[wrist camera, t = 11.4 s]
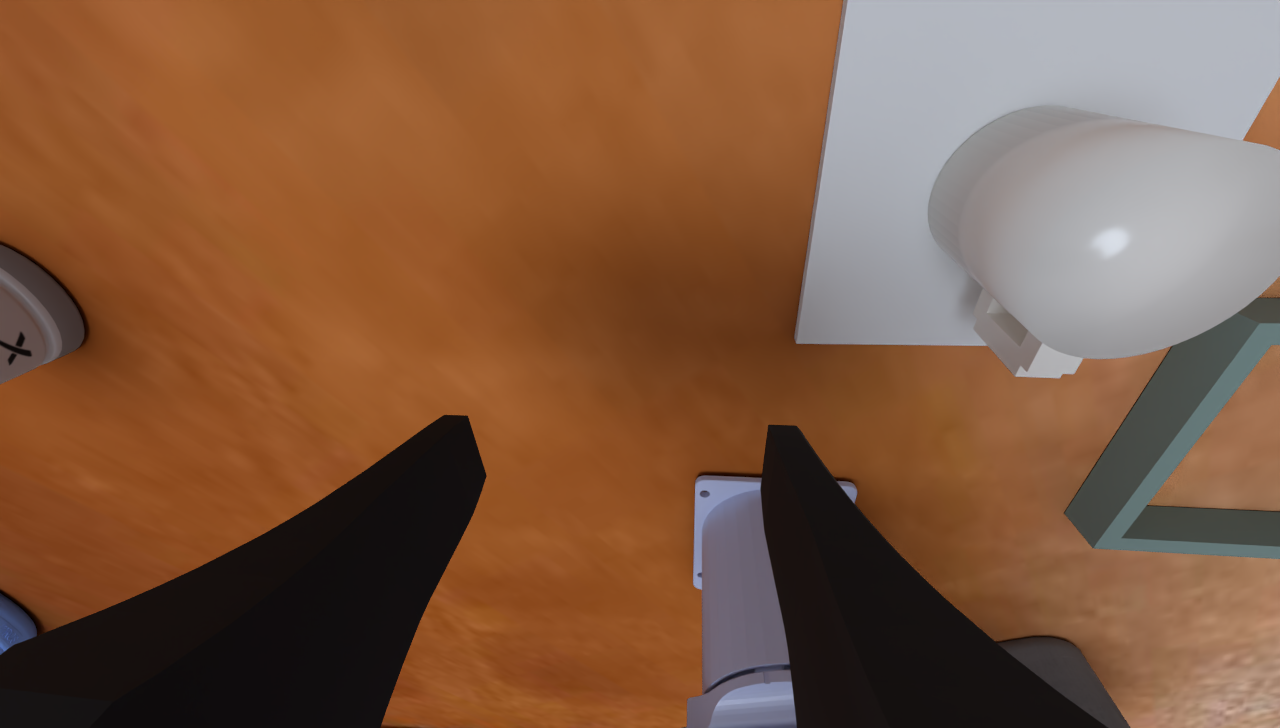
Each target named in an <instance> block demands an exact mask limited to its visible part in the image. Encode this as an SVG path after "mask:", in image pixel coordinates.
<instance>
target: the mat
mask: <svg viewBox="0 0 1280 728" xmlns="http://www.w3.org/2000/svg"><path fill="white" fill-rule="evenodd" d="M1279 77H1280V0H843V7H842V14H841V21H840V27H839V34H838V41H837V48H836V55H835V62H834V69H833V75H832V82H831V89H830V96H829V103H828V110H827V117H826V123H825V130H824V137H823V144H822V151H821V158H820V165H819V171H818V178H817V185H816V192H815V199H814V206H813V212H812V219H811V226H810V233H809V240H808V247H807V254H806V260H805V267H804V274H803V281H802V288H801V295H800V302H799V308H798V315H797V322H796V329H795V336H794V339H795V341H796V344H869V345H964V346H988V345H987V344H986V343H985V342H984V341H983V340H982V339H981V337H980V336H979V335H978V334H977V333H976V332H975V331H974V329H973V328H974V325H975V323H976V320H977V318H976V317H975V316H974V315H973V312H974V309H975V307H976V304H977V302H978V299H979V297H980V294H981V292H982V289H983V288H982V287H981V286H980V285H979V284H978V283H977V282H976V281H975V280H974V279H973V278H972V277H971V276H970V275H969V274H968V273H966V272H965V271H964V270H963V269H962V268H961V267H960V266H959V265H958V264H957V263H956V262H955V261H954V260H953V259H952V258H950V257H949V256H948V255H947V254H946V253H945V252H944V251H943V250H942V249H941V248H940V247H939V246H938V244H937V243H936V241H935V240H934V238H933V236H932V234H931V231H930V227H929V223H928V205H929V200H930V196H931V192H932V189H933V187H934V184H935V182H936V180H937V178H938V176H939V174H940V172H941V171H942V169H943V168H944V166H945V164H946V163H947V162H948V160H949V159H950V158H951V157H952V155H953V154H954V153H955V152H956V151H957V150H958V149H959V148H960V147H961V146H962V145H963V144H964V143H965V142H966V141H967V140H968V139H969V138H971V137H972V136H973V135H974V134H975V133H977V132H978V131H980V130H981V129H983V128H984V127H985V126H987V125H989V124H991V123H992V122H994V121H996V120H998V119H1000V118H1002V117H1004V116H1006V115H1008V114H1011V113H1014V112H1017V111H1020V110H1023V109H1027V108H1032V107H1037V106H1047V105H1050V106H1064V107H1069V108H1075V109H1080V110H1085V111H1090V112H1095V113H1101V114H1106V115H1111V116H1116V117H1121V118H1127V119H1132V120H1137V121H1142V122H1147V123H1153V124H1158V125H1163V126H1168V127H1173V128H1179V129H1184V130H1189V131H1194V132H1199V133H1205V134H1210V135H1215V136H1220V137H1225V138H1231V139H1236V140H1241V141H1242V140H1243V139H1244V137H1245V135H1246V133H1247V132H1248V130H1249V128H1250V127H1251V125H1252V123H1253V121H1254V120H1255V118H1256V116H1257V115H1258V113H1259V111H1260V109H1261V108H1262V106H1263V104H1264V103H1265V101H1266V99H1267V97H1268V96H1269V94H1270V92H1271V90H1272V89H1273V87H1274V85H1275V84H1276V82H1277V80H1278V78H1279Z"/></svg>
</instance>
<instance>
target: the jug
mask: <svg viewBox="0 0 1280 728" xmlns="http://www.w3.org/2000/svg"><path fill="white" fill-rule="evenodd" d="M928 223H929V227H930V231H931V234H932V236H933V238H934V240H935V241H936V243H937V244H938V246H939V247H940V248H941V249H942V250H943V251H944V252H945V253H946V254H947V255H948V256H949V257H950V258H952V259H953V260H954V261H955V262H956V263H957V264H958V265H959V266H960V267H961V268H962V269H963V270H964V271H965V272H966V273H968V274H969V275H970V276H971V277H972V278H973V279H974V280H975V281H976V282H977V283H978V284H979V285H980V286H981V287H982V288H983V289H982V292H981V294H980V297H979V299H978V302H977V304H976V307H975V309H974V312H973V315H974V316H975V317H976V318H977V320H976V323H975V325H974V328H973V329H974V331H975V332H976V333H977V334H978V335H979V336H980V337H981V339H982V340H983V341H984V342H985V343H986V344H987V345H988V347H989V348H990V349H991V350H992V351H993V352H994V353H995V354H996V356H997V357H998V358H999V359H1000V360H1001V361H1002V362H1003V364H1004V365H1005V366H1006V367H1007V368H1008V369H1009V370H1010V371H1011V373H1012V374H1013V375H1014V376H1015V377H1041V378H1060V377H1061V376H1062V374H1074V373H1075V372H1076V370H1077V368H1078V367H1079V365H1080V363H1081V361H1082V360H1083V358H1090V359H1114V358H1124V357H1131V356H1136V355H1141V354H1146V353H1150V352H1153V351H1157V350H1161V349H1164V348H1167V347H1170V346H1173V345H1176V344H1179V343H1181V342H1183V341H1186V340H1188V339H1190V338H1193V337H1195V336H1197V335H1199V334H1201V333H1203V332H1205V331H1207V330H1209V329H1211V328H1213V327H1215V326H1217V325H1218V324H1220V323H1222V322H1223V321H1225V320H1227V319H1228V318H1230V317H1231V316H1233V315H1234V314H1236V313H1237V312H1239V311H1240V310H1242V309H1243V308H1244V307H1246V306H1247V305H1248V304H1250V303H1251V302H1252V301H1253V300H1255V299H1256V298H1257V297H1258V296H1259V295H1261V294H1262V293H1263V292H1264V291H1265V290H1266V289H1267V288H1268V287H1269V286H1270V285H1271V284H1272V283H1273V282H1274V281H1275V280H1276V279H1277V278H1278V277H1279V276H1280V150H1278V149H1275V148H1272V147H1270V146H1267V145H1262V144H1257V143H1251V142H1246V141H1241V140H1236V139H1231V138H1225V137H1220V136H1215V135H1210V134H1205V133H1199V132H1194V131H1189V130H1184V129H1179V128H1173V127H1168V126H1163V125H1158V124H1153V123H1147V122H1142V121H1137V120H1132V119H1127V118H1121V117H1116V116H1111V115H1106V114H1101V113H1095V112H1090V111H1085V110H1080V109H1075V108H1069V107H1064V106H1050V105H1047V106H1037V107H1032V108H1027V109H1023V110H1020V111H1017V112H1014V113H1011V114H1008V115H1006V116H1004V117H1002V118H1000V119H998V120H996V121H994V122H992V123H991V124H989V125H987V126H985V127H984V128H983V129H981V130H980V131H978V132H977V133H975V134H974V135H973V136H972V137H971V138H969V139H968V140H967V141H966V142H965V143H964V144H963V145H962V146H961V147H960V148H959V149H958V150H957V151H956V152H955V153H954V154H953V155H952V157H951V158H950V159H949V160H948V162H947V163H946V164H945V166H944V168H943V169H942V171H941V172H940V174H939V176H938V178H937V180H936V182H935V184H934V187H933V189H932V192H931V196H930V200H929V205H928Z"/></svg>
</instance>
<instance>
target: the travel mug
mask: <svg viewBox="0 0 1280 728" xmlns="http://www.w3.org/2000/svg"><path fill="white" fill-rule="evenodd" d="M84 333H85V330H84V325H83V320H82V318H81V315H80V313H79V311H78V309H77V307H76V305H75V304H74V302H73V301H72V299H71V298H70V297H69V295H68V294H67V293H66V292H65V290H64V289H63V288H62V287H61V286H60V285H59V284H58V283H57V282H56V281H55V280H54V279H53V278H52V277H51V276H50V275H48V274H47V273H46V272H45V271H44V270H42V269H41V268H40V267H39V266H37V265H36V264H34V263H33V262H32V261H30V260H29V259H27V258H26V257H24V256H22V255H20V254H19V253H17V252H15V251H13V250H11V249H9V248H7V247H5V246H3V245H0V384H2V383H4V382H6V381H9V380H11V379H13V378H15V377H17V376H20V375H22V374H24V373H26V372H29V371H31V370H33V369H35V368H36V367H38V366H39V365H43V364H46V363H48V362H51V361H53V360H55V359H57V358H60V357H62V356H64V355H66V354H68V353H71V352H73V351H75V350H76V349H77V348H79V347H80V345H81V343H82V341H83V339H84Z"/></svg>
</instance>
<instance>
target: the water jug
mask: <svg viewBox="0 0 1280 728" xmlns="http://www.w3.org/2000/svg"><path fill="white" fill-rule="evenodd" d="M36 636H37V629H36V626H35V624H34V622H33V621H32V619H31V618H30V617H29V616H28V615H27V614H26V613H25V612H24V611H23V610H22V609H21V608H20V607H19V606H18V605H16V604H15V603H14V602H12V601H11V600H10V599H8V598H7V597H5V596H4V595H2V594H1V593H0V655H1V654H2V653H3V652H4V651H6V650H7V649H8V648H10V647H11V646H13V645H14V644H17V643H20V642H23V641H25V640H28V639H31V638H33V637H36Z"/></svg>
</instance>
